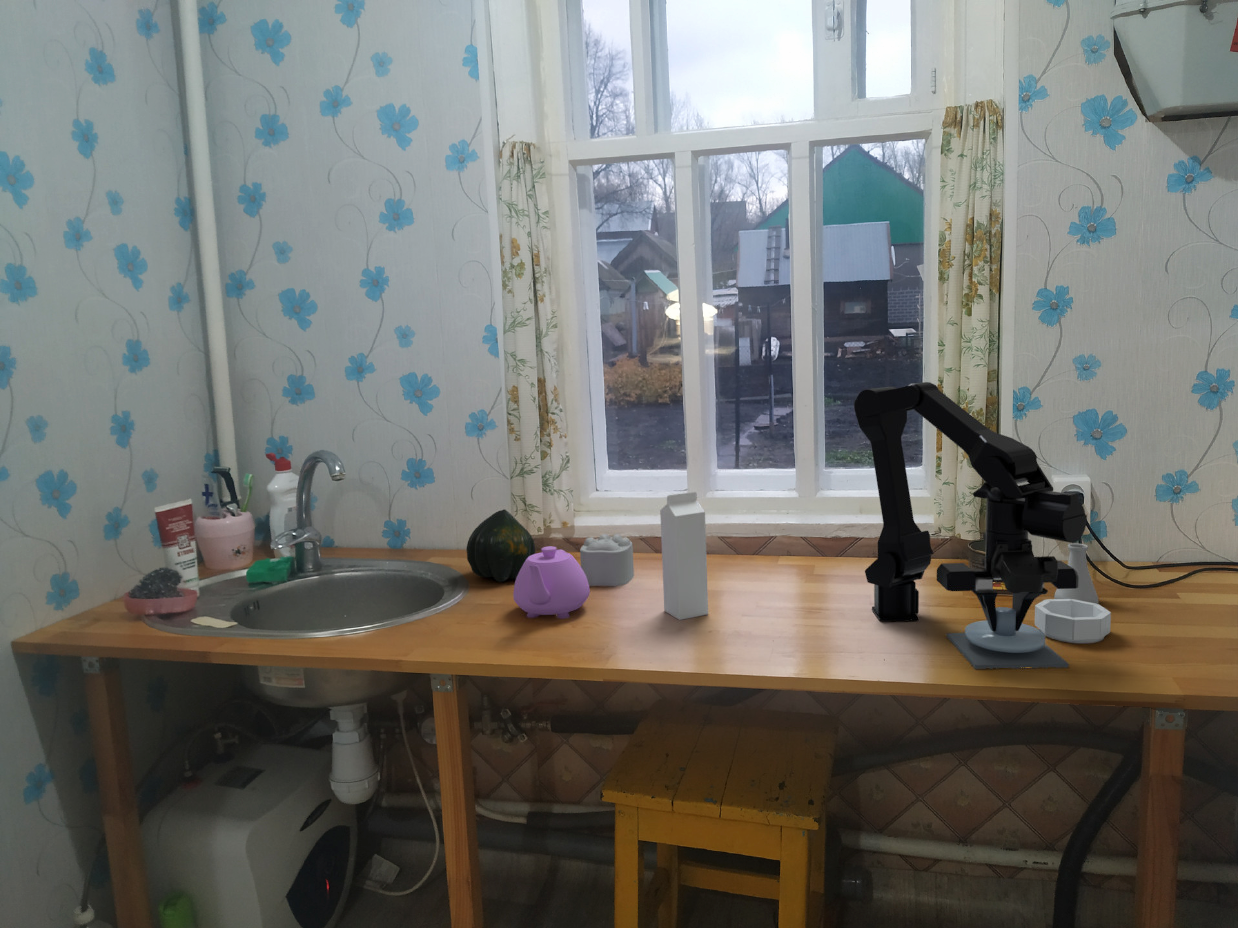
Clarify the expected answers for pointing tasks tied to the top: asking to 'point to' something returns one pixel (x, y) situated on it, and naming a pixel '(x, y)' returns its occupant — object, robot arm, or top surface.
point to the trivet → (1005, 656)
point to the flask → (1085, 582)
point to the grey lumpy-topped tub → (607, 560)
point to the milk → (684, 556)
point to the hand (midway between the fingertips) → (1004, 630)
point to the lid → (1005, 634)
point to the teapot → (550, 584)
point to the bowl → (1072, 620)
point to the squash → (499, 547)
